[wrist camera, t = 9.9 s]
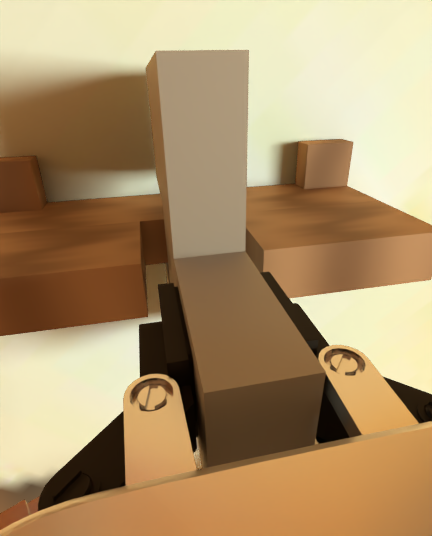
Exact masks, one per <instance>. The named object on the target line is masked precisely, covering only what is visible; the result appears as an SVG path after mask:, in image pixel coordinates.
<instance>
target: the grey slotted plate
mask: <svg viewBox="0 0 432 536" xmlns="http://www.w3.org/2000/svg"><path fill="white" fill-rule="evenodd" d="M248 67H249V50H198V51H156V52H155V53H154V55H153V57H152V58H151V60H150V62H149V63H148V65H147V67H146V76H147V86H148V96H149V106H150V116H151V126H152V136H153V146H154V156H155V166H156V176H157V181H158V185H159V190H160V194H161V198H162V203H163V213H164V224H165V235H166V245H167V256H168V263H165V267H166V277H167V283H174V287H177V286H178V290H179V295H180V300H181V304H182V309H183V314H184V319H185V323H186V328H187V333H188V337H189V342H190V347H191V351H192V357H193V365H194V378H195V393H196V408H197V422H198V437H196V440H197V449H196V450H199V452H200V458H201V464H202V469H203V468H208V467H213V466H217V465H222V464H227V463H231V462H236V461H241V460H245V459H250V458H255V457H259V456H264V455H269V454H274V453H278V452H283V451H288V450H293V449H298V448H302V447H307V446H312V445H315V439H316V432H317V426H318V420H319V413H320V407H321V401H322V395H323V388H324V382H325V376H326V371H325V370H324V368H323V367H322V365H321V364H320V362H319V361H318V359H317V358H316V356H315V355H314V353H313V352H312V350H311V349H310V347H309V346H308V344H307V343H306V341H305V340H304V338H303V337H302V335H301V334H300V332H299V331H298V329H297V328H296V326H295V325H294V323H293V322H292V320H291V319H290V317H289V316H288V314H287V313H286V311H285V310H284V308H283V307H282V305H281V304H280V302H279V301H278V299H277V298H276V296H275V295H274V293H273V292H272V290H271V289H270V287H269V286H268V284H267V283H266V281H265V280H264V278H263V277H262V275H261V274H260V272H259V271H258V269H257V268H256V266H255V265H254V263H253V262H252V260H251V259H250V257H249V256H248V254H247V253H246V251H245V245H246V186H247V127H248Z"/></svg>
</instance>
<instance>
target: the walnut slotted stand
mask: <svg viewBox="0 0 432 536" xmlns="http://www.w3.org/2000/svg"><path fill="white" fill-rule="evenodd" d="M352 148H353V142H351V141H347V140H343V139H334V140H315V141H299V142H298V154H297V167H296V180H295V184H285V185H272V186H259V187H246V245H245V251H246V253H247V254H248V256H249V257H250V259H251V260H252V262H253V263H254V265H255V266H256V268H257V269H258V271H259V272H270V273H271V274H272V276H273V277H274V278H275V280H276V281H277V283H278V284H279V285H280V287H281V288H282V290H283V291H284V292H285V294H286V295H287V296H288V298H295V297H303V296H310V295H318V294H326V293H333V292H341V291H349V290H356V289H364V288H372V287H379V286H387V285H394V284H402V283H410V282H417V281H425V280H431V277H432V225H430V224H428V223H426V222H424V221H422V220H419V219H417V218H415V217H413V216H411V215H409V214H406V213H404V212H402V211H400V210H398V209H396V208H394V207H391V206H389V205H387V204H385V203H383V202H381V201H378V200H376V199H374V198H372V197H370V196H368V195H366V194H363V193H361V192H359V191H357V190H355V189H353V188H350V187H348V186H347V182H348V175H349V168H350V162H351V155H352ZM160 263H168V256H167V245H166V235H165V224H164V213H163V203H162V198H161V194H153V195H140V196H126V197H113V198H100V199H87V200H73V201H60V202H47V198H46V194H45V190H44V186H43V182H42V178H41V174H40V170H39V166H38V162H37V158H36V156H24V157H5V158H0V336H5V335H13V334H20V333H28V332H36V331H43V330H51V329H58V328H66V327H74V326H81V325H89V324H97V323H104V322H112V321H120V320H127V319H135V318H142V317H148V308H147V288H146V268H145V265H150V264H160Z"/></svg>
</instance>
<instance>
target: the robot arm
mask: <svg viewBox="0 0 432 536" xmlns="http://www.w3.org/2000/svg"><path fill="white" fill-rule="evenodd" d="M260 274H261V275H262V277H263V278H264V280H265V281H266V283H267V284H268V286H269V287H270V289H271V290H272V292H273V293H274V295H275V296H276V298H277V299H278V301H279V302H280V304H281V305H282V307H283V308H284V310H285V311H286V313H287V314H288V316H289V317H290V319H291V320H292V322H293V323H294V325H295V326H296V328H297V329H298V331H299V332H300V334H301V335H302V337H303V338H304V340H305V341H306V343H307V344H308V346H309V347H310V349H311V350H312V352H313V353H314V355H315V356H316V358H317V359H318V361H319V362H320V364H321V365H322V367H323V368H324V370H325V371H326V376H325V382H324V388H323V395H322V401H321V407H320V413H319V420H318V426H317V432H316V439H315V445H312V446H307V447H302V448H298V449H293V450H288V451H283V452H278V453H274V454H269V455H264V456H259V457H255V458H250V459H245V460H241V461H236V462H231V463H227V464H222V465H217V466H213V467H208V468H203V469H199V470H197V469H196V465H195V460H194V455H193V453H194V452H195V451H196V449H197V440H196V437H198V422H197V408H196V393H195V378H194V365H193V357H192V351H191V347H190V342H189V337H188V333H187V328H186V323H185V319H184V314H183V309H182V304H181V300H180V295H179V290H178V286H177V287H174V283H167V284H159V285H158V290H159V299H160V308H161V317H162V322H154V323H147V324H140V325H139V350H140V378H138V379H137V380H135V381H133V382H132V383H131V384H130V385H129V386H128V388H127V389H126V391H125V393H124V398H123V408H124V411H123V412H122V413H121V414H120V415H119V416H117V417H116V418H115V419H114V420H113V421H112V422H111V423H110V424H109V425H108V426H107V427H106V428H105V429H103V430H102V431H101V432H100V433H99V434H98V435H97V436H96V437H95V438H94V439H93V440H92V441H91V442H89V443H88V444H87V445H86V446H85V447H84V448H83V449H82V450H81V451H80V452H79V453H78V454H77V455H75V456H74V457H73V458H72V459H71V460H70V461H69V462H68V463H67V464H66V465H65V466H64V467H63V468H61V469H60V470H59V471H58V472H57V473H56V474H55V475H54V476H53V477H52V478H51V479H50V481H49V482H48V483H47V484H46V485H45V487H44V489H43V491H42V493H41V495H40V496H39V497H37V498H35V499H34V500H32V501H30V502H29V503H26V501H25V500H22V501H21V502H19V503H17V504H16V505H14V506H12V507H10V508H9V509H7V510H6V511H4V512H2V513H0V536H432V394H429V393H426V392H424V391H421V390H418V389H415V388H413V387H410V386H407V385H405V384H402V383H399V382H396V381H394V380H391V379H388V378H385V377H383V376H382V375H381V374H380V373H379V372H378V370H377V369H376V368H375V366H374V365H373V364H372V363H371V361H370V360H369V359H368V358H367V357H366V356H365V355H364V354H363V353H362V352H360V351H358V350H357V349H354V348H352V347H349V346H344V345H331V346H329V344H328V343H327V342H326V340H325V339H324V338H323V336H322V335H321V334H320V332H319V331H318V330H317V328H316V327H315V326H314V324H313V323H312V322H311V320H310V319H309V318H308V316H307V315H306V314H305V312H304V311H303V310H302V308H301V307H300V306H299V305H298V304H296V303H294V304H293V303H292V302H291V301H290V299H289V298H288V296H287V295H286V294H285V292H284V291H283V290H282V288H281V287H280V285H279V284H278V283H277V281H276V280H275V278H274V277H273V276H272V274H271V273H270V272H260Z"/></svg>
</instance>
